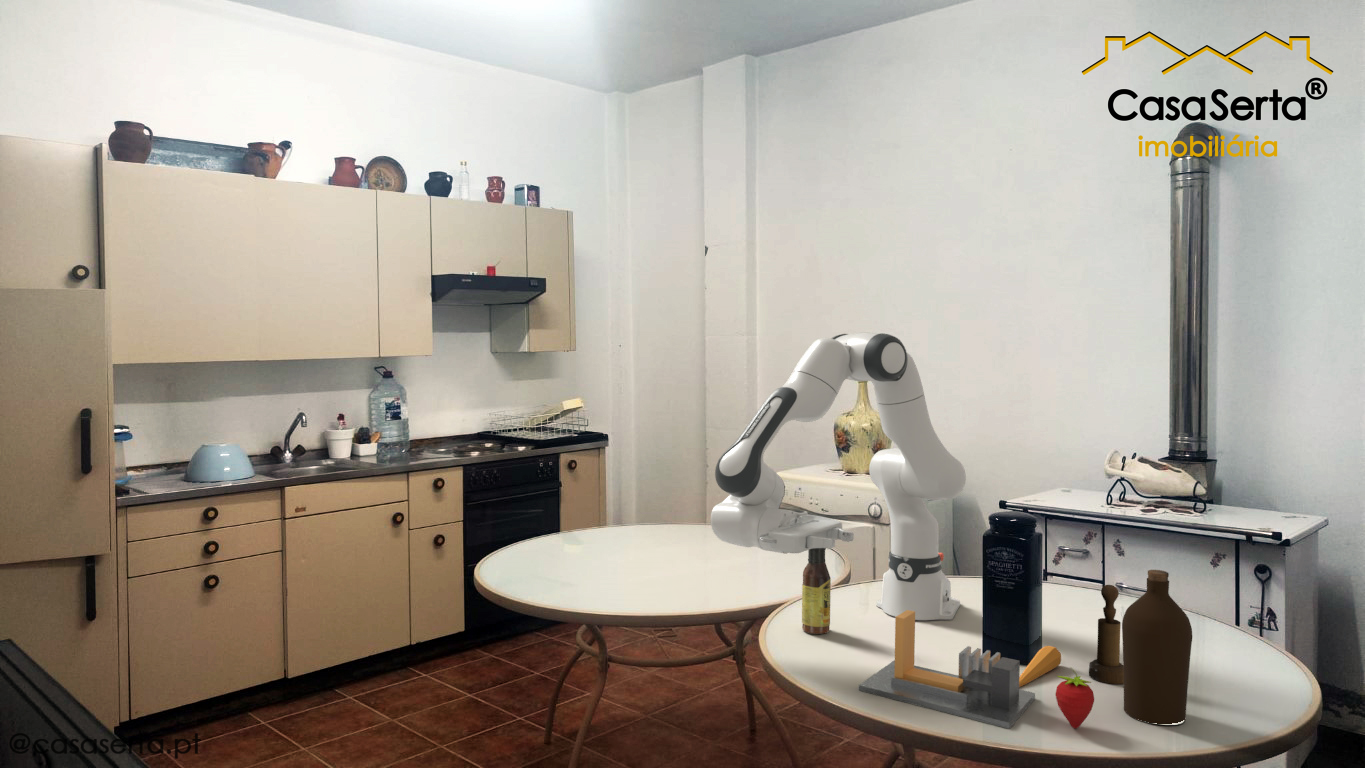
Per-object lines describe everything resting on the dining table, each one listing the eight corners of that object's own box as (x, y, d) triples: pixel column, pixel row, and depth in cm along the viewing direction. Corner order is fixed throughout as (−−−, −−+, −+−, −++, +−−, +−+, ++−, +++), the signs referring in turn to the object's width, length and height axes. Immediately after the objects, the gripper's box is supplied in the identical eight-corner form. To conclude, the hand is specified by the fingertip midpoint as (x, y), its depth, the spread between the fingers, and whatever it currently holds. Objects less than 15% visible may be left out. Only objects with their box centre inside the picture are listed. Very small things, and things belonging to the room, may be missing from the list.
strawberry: (1051, 732, 143) (1053, 672, 143) (1057, 716, 150) (1058, 658, 150) (1091, 740, 140) (1093, 679, 140) (1095, 723, 147) (1096, 664, 147)
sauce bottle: (829, 636, 191) (830, 546, 190) (800, 634, 192) (801, 545, 192) (830, 627, 197) (831, 540, 197) (802, 625, 199) (803, 539, 198)
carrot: (1047, 666, 176) (1038, 644, 177) (1068, 663, 173) (1059, 641, 174) (1005, 704, 162) (995, 680, 163) (1027, 701, 159) (1017, 677, 160)
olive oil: (1142, 728, 145) (1146, 580, 144) (1107, 703, 156) (1111, 564, 155) (1203, 727, 146) (1208, 579, 145) (1165, 702, 156) (1169, 564, 155)
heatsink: (893, 665, 173) (894, 625, 173) (1035, 698, 157) (1036, 654, 157) (858, 690, 161) (859, 647, 160) (1009, 728, 145) (1010, 681, 144)
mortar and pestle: (1128, 676, 169) (1130, 584, 168) (1125, 687, 163) (1128, 592, 163) (1090, 669, 172) (1092, 579, 172) (1087, 680, 167) (1089, 586, 166)
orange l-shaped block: (906, 672, 166) (907, 609, 166) (966, 686, 160) (967, 621, 159) (894, 680, 162) (895, 617, 162) (956, 695, 155) (957, 629, 155)
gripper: (755, 522, 170) (818, 532, 162) (804, 509, 187) (865, 517, 179) (754, 554, 170) (817, 566, 162) (804, 538, 187) (864, 548, 179)
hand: (842, 540), depth 171 cm, fingers open, 7 cm apart
